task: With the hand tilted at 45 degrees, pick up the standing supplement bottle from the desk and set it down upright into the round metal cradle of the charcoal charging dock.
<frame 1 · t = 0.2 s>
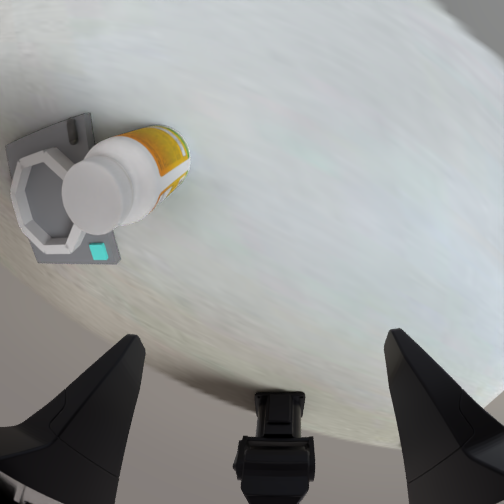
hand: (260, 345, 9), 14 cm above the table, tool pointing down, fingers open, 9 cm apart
supplement bottle: (160, 157, 21), on the table
charging dock: (57, 196, 23), on the table
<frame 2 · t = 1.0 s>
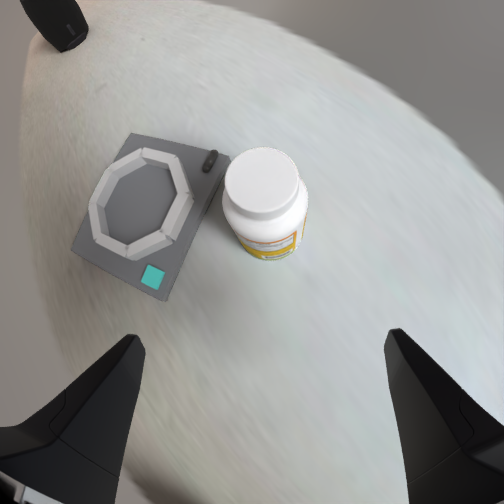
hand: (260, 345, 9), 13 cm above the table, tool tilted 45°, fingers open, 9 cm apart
portable speaker: (75, 41, 39), on the table
supplement bottle: (271, 231, 24), on the table
charging dock: (145, 207, 26), on the table
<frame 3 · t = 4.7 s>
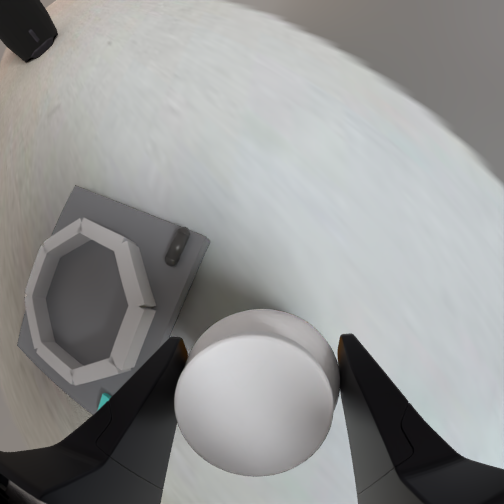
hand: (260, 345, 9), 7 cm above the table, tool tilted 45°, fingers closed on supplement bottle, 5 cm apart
portable speaker: (42, 48, 30), on the table
supplement bottle: (270, 358, 16), on the table, touching gripper
charging dock: (94, 304, 17), on the table
when the fingers open (8 cm above the table, at t = 10.4 s): supplement bottle stays where it is, resting on charging dock.
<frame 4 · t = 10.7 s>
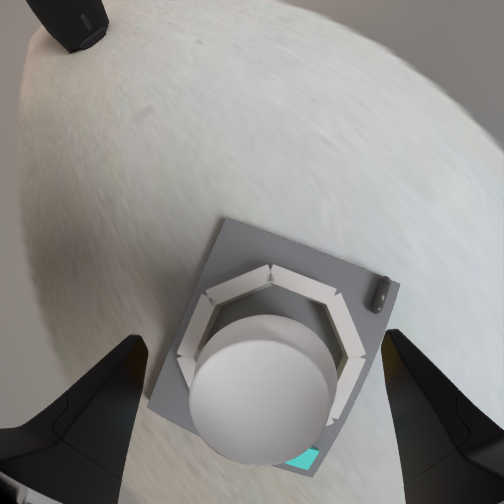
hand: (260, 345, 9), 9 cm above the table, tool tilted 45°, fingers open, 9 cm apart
portable speaker: (90, 39, 30), on the table
supplement bottle: (272, 359, 17), point 1 cm above the table, touching charging dock
charging dock: (272, 354, 17), on the table
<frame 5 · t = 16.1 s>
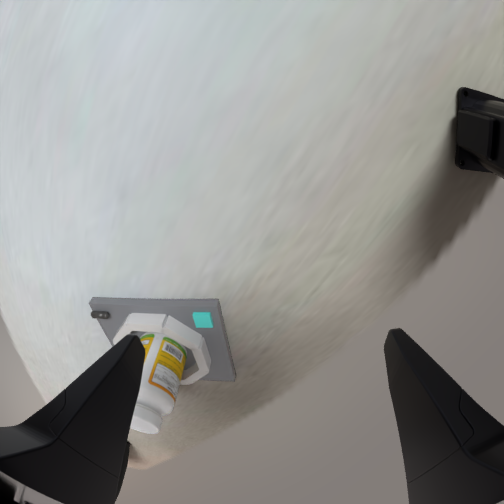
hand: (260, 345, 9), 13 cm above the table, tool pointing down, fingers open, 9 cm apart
portable speaker: (116, 436, 54), on the table
supplement bottle: (164, 345, 29), point 1 cm above the table, touching charging dock
charging dock: (165, 340, 29), on the table
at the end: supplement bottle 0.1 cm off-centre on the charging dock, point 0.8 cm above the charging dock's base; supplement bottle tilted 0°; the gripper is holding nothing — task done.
